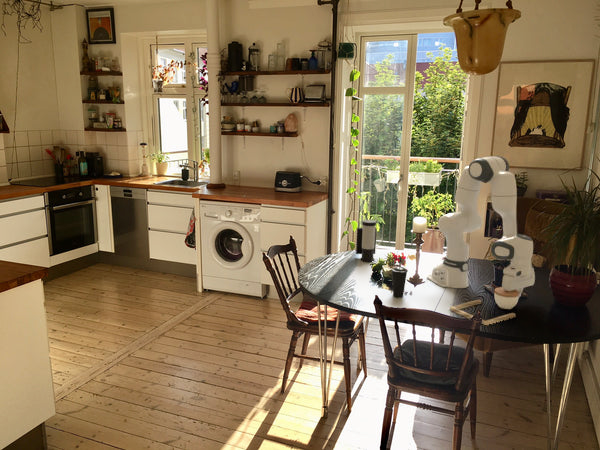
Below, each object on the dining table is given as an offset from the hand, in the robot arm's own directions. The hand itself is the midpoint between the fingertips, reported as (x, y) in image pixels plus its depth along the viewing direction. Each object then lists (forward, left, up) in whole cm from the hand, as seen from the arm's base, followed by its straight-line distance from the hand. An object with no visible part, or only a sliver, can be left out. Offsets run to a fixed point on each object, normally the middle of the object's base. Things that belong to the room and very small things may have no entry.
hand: (517, 296), depth 234 cm
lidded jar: (0, -8, -4) cm, 9 cm away
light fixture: (-91, -18, -4) cm, 93 cm away
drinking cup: (-35, -43, -4) cm, 56 cm away
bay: (0, -24, -4) cm, 25 cm away
